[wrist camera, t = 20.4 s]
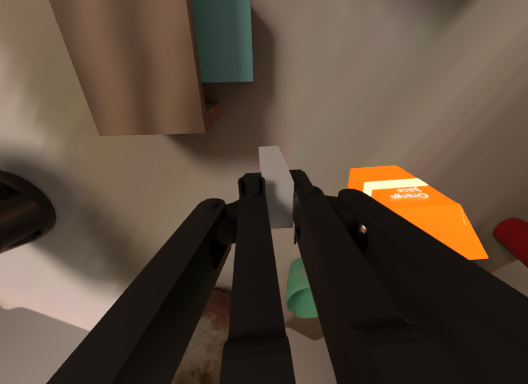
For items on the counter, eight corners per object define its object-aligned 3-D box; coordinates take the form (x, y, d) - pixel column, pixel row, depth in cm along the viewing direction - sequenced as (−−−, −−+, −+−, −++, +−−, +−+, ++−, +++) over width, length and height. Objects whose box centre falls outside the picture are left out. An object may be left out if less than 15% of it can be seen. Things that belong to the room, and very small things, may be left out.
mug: (276, 276, 54) (280, 315, 45) (287, 247, 49) (294, 284, 41) (331, 284, 56) (345, 322, 47) (346, 256, 51) (364, 293, 43)
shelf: (146, 118, 35) (99, 135, 25) (104, -44, 26) (1, -126, 16) (220, 116, 35) (205, 133, 25) (202, -45, 27) (167, -126, 16)
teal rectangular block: (250, 5, 29) (249, -7, 25) (253, 81, 33) (253, 81, 29) (160, 7, 29) (143, -6, 24) (175, 82, 33) (162, 83, 29)
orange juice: (388, 200, 44) (476, 280, 27) (345, 203, 44) (405, 286, 27) (396, 164, 41) (505, 230, 23) (350, 167, 41) (422, 236, 23)
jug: (166, 318, 60) (96, 507, 34) (167, 263, 50) (69, 468, 24) (243, 325, 63) (234, 505, 37) (257, 274, 53) (259, 469, 27)
